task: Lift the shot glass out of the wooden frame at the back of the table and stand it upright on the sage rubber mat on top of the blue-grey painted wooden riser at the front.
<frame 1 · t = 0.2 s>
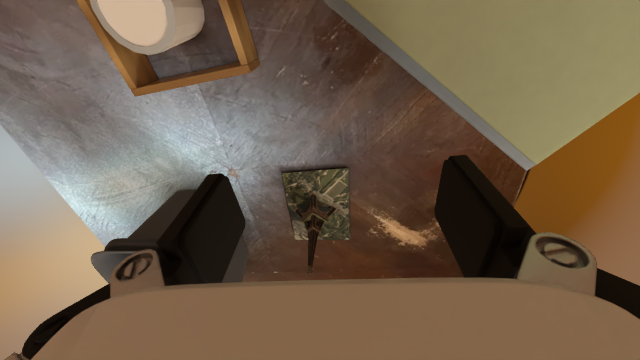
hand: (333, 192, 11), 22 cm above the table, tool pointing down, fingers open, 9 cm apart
eiffel tower figurine: (318, 206, 40), on the table
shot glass: (178, 8, 26), resting in wooden frame
wooden frame: (177, 8, 25), on the table
storage bin: (212, 225, 44), on the table
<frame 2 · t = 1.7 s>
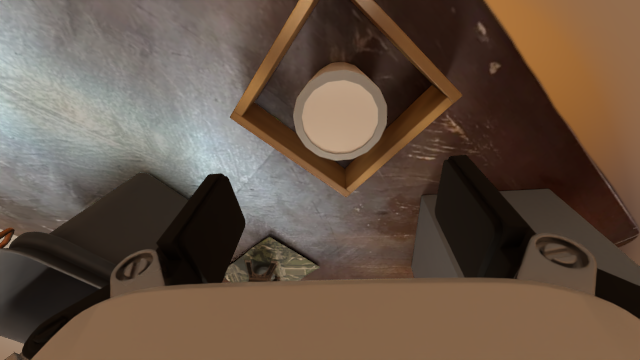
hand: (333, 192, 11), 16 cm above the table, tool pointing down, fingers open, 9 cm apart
eiffel tower figurine: (266, 268, 41), on the table
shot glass: (339, 93, 24), resting in wooden frame
riser: (470, 233, 33), on the table
wooden frame: (339, 93, 24), on the table
storage bin: (143, 213, 35), on the table
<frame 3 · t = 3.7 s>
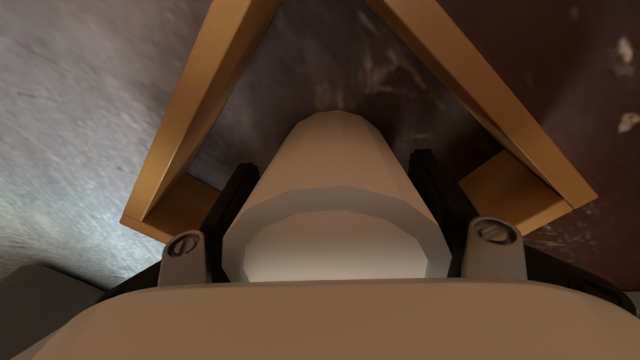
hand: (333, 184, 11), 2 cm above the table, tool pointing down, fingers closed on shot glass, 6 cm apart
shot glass: (333, 159, 13), resting in wooden frame, touching gripper
wooden frame: (333, 161, 13), on the table
storage bin: (53, 304, 24), on the table
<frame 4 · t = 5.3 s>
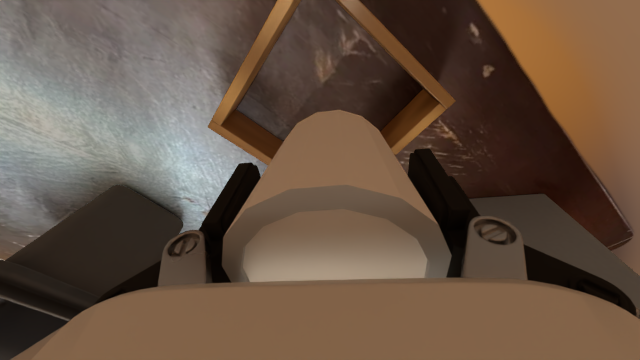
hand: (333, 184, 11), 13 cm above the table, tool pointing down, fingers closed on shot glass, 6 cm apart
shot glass: (333, 159, 13), point 11 cm above the table, touching gripper
riser: (464, 239, 32), on the table
wooden frame: (326, 99, 22), on the table
storage bin: (121, 227, 33), on the table
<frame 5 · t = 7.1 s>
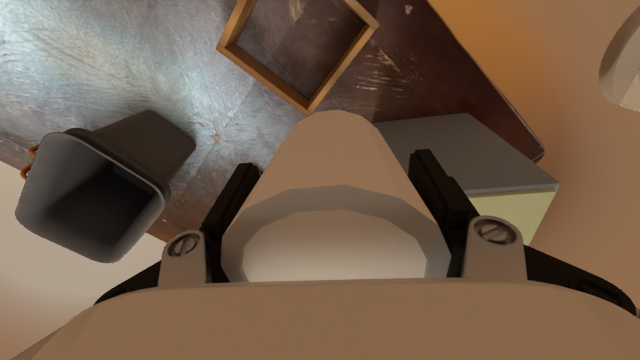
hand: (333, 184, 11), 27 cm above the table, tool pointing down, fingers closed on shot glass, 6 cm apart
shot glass: (333, 159, 13), point 25 cm above the table, touching gripper
mat: (461, 241, 26), resting on riser
riser: (414, 158, 41), on the table
wooden frame: (298, 34, 31), on the table
storage bin: (148, 152, 43), on the table
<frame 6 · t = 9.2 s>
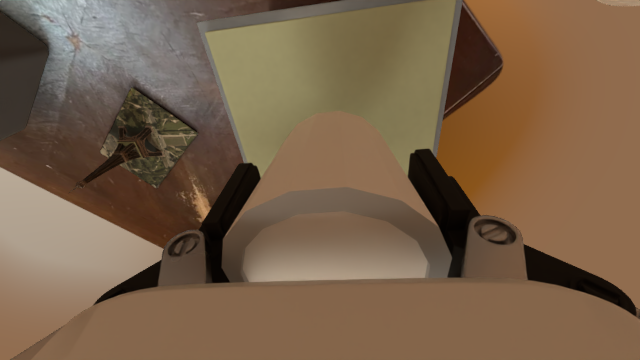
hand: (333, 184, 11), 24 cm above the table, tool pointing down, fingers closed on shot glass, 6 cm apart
eiffel tower figurine: (148, 142, 39), on the table
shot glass: (333, 160, 13), point 22 cm above the table, touching gripper
mat: (334, 129, 17), resting on riser
riser: (334, 73, 31), on the table
when the fingers open (21 cm above the table, at t = 10.6 s): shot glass stays where it is, resting on mat.
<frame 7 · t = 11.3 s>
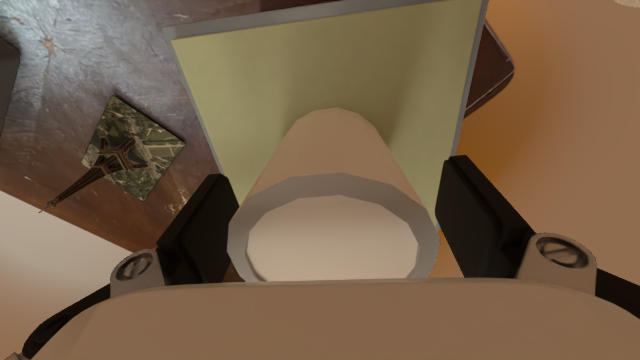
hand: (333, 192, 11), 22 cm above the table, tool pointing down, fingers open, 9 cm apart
eiffel tower figurine: (133, 152, 36), on the table
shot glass: (331, 155, 14), point 18 cm above the table, touching mat
mat: (331, 152, 14), resting on riser
riser: (332, 79, 29), on the table
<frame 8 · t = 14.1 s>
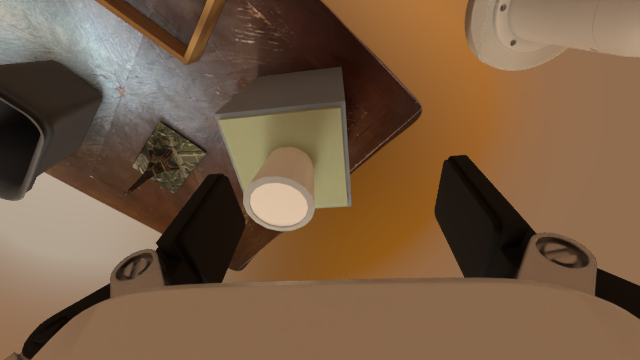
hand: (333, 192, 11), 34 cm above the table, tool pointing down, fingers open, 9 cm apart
eiffel tower figurine: (169, 159, 52), on the table
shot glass: (290, 166, 29), point 18 cm above the table, touching mat
mat: (290, 165, 29), resting on riser
riser: (305, 113, 44), on the table
storage bin: (62, 105, 46), on the table
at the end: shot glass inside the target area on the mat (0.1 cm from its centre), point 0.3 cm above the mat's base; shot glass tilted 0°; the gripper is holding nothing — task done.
